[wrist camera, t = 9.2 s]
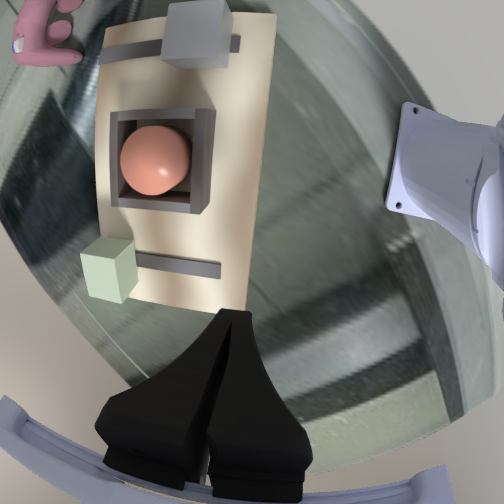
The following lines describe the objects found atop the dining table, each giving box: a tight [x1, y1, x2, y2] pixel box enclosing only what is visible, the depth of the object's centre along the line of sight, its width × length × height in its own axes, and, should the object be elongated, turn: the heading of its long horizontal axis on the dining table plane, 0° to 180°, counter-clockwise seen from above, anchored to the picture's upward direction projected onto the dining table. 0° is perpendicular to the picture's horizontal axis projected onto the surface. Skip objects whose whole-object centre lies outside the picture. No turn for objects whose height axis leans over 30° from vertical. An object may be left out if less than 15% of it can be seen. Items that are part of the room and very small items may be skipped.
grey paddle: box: [160, 0, 234, 69], centre depth 11 cm, size 3×4×3 cm
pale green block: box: [80, 236, 139, 304], centre depth 19 cm, size 3×4×3 cm
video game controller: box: [12, 0, 83, 67], centre depth 10 cm, size 10×5×7 cm
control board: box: [95, 12, 277, 313], centre depth 17 cm, size 12×22×4 cm, turn 175°
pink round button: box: [120, 125, 193, 195], centre depth 15 cm, size 4×4×2 cm
